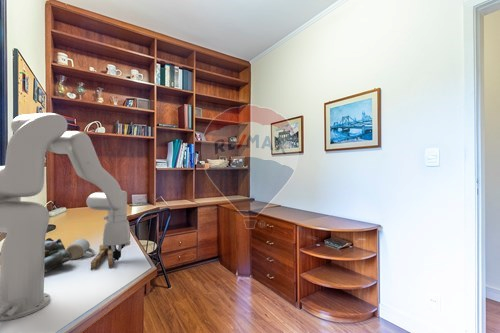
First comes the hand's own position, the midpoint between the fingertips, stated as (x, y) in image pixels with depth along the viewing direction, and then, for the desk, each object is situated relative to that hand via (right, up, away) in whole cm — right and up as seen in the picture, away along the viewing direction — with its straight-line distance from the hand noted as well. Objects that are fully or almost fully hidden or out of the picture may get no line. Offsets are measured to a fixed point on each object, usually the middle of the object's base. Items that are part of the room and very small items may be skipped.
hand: (116, 259), depth 104 cm
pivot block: (-10, -1, +9) cm, 14 cm away
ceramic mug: (-21, -2, +7) cm, 22 cm away
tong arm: (-3, -1, 0) cm, 3 cm away
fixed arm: (-8, -1, 0) cm, 8 cm away
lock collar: (-10, -1, +8) cm, 13 cm away
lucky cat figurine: (-24, -1, -9) cm, 25 cm away
